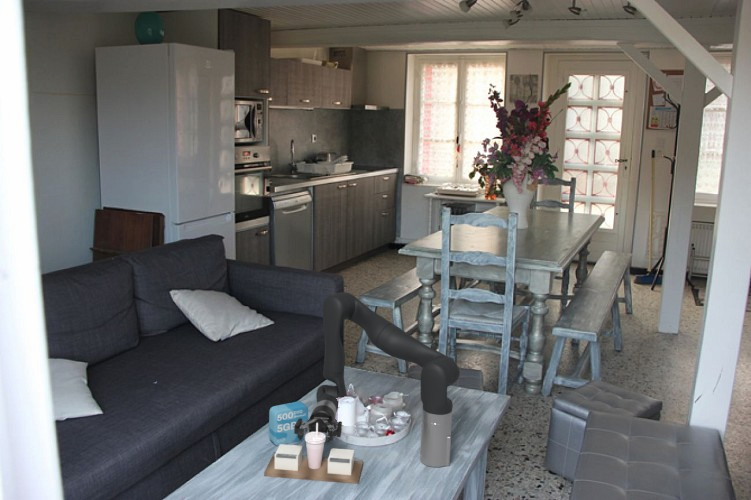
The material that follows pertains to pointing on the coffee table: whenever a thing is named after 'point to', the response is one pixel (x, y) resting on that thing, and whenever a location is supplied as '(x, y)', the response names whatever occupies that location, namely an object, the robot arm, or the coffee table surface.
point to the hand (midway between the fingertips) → (314, 438)
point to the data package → (286, 422)
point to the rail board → (332, 469)
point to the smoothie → (315, 448)
